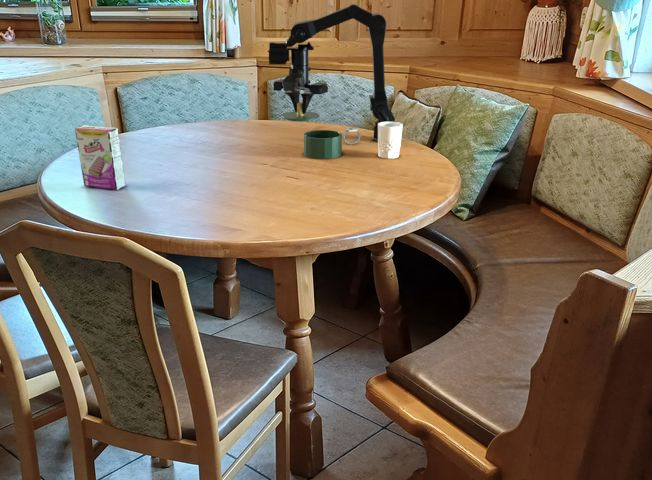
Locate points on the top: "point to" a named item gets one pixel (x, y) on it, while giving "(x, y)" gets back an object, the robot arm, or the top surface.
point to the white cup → (389, 139)
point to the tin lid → (300, 114)
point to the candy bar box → (100, 157)
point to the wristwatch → (351, 131)
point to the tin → (322, 144)
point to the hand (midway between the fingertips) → (300, 113)
